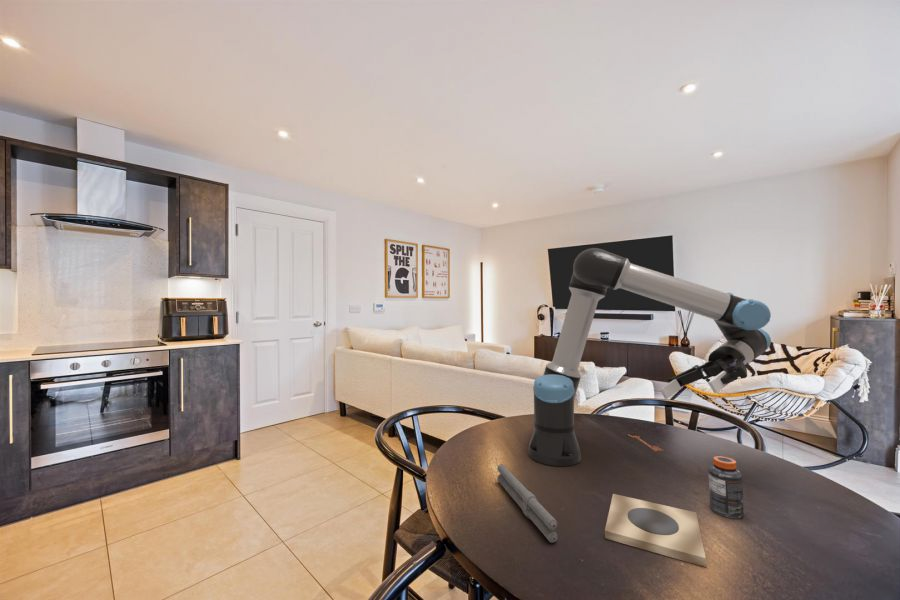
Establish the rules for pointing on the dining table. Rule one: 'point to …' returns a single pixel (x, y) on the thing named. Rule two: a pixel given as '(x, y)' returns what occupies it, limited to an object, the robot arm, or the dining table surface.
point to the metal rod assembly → (528, 503)
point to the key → (646, 443)
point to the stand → (655, 529)
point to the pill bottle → (726, 488)
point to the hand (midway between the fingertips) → (686, 391)
